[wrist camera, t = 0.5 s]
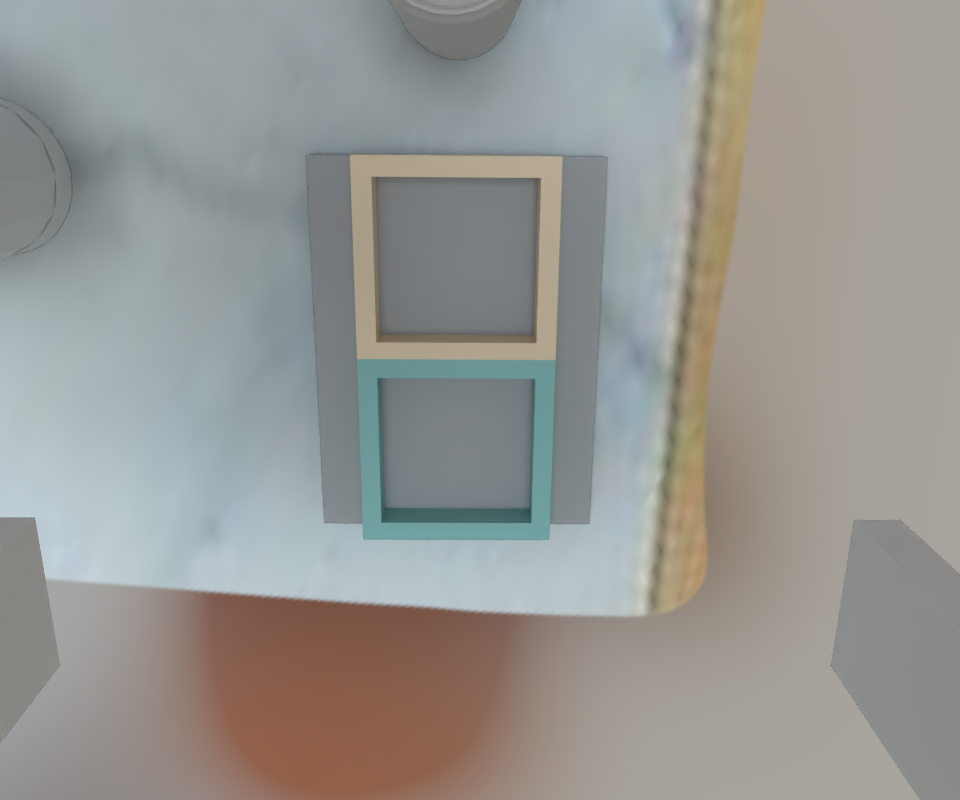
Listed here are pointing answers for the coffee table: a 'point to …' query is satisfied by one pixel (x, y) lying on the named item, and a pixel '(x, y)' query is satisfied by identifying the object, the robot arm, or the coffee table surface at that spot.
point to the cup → (30, 181)
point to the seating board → (456, 340)
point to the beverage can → (457, 24)
